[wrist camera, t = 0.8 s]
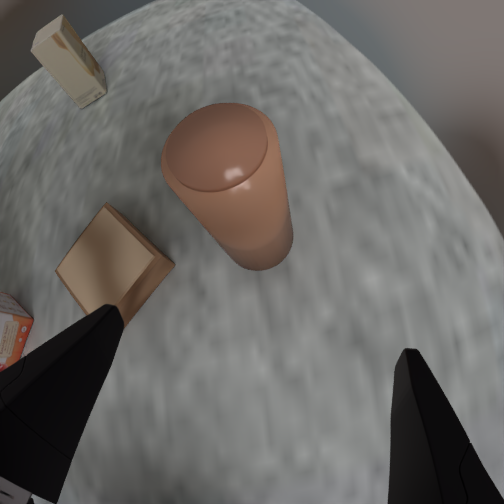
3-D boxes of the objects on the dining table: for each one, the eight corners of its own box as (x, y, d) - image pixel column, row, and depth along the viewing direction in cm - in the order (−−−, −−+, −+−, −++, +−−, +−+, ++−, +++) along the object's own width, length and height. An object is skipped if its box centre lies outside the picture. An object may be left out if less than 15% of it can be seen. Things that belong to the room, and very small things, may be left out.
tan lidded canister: (263, 284, 25) (217, 222, 12) (211, 243, 26) (135, 159, 14) (307, 230, 25) (302, 126, 13) (254, 193, 27) (212, 83, 15)
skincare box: (108, 93, 35) (60, 29, 23) (81, 111, 35) (29, 52, 23) (104, 70, 37) (63, 12, 25) (79, 85, 37) (35, 31, 26)
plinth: (118, 335, 25) (98, 333, 23) (72, 277, 28) (52, 270, 25) (175, 264, 26) (160, 254, 24) (121, 213, 29) (104, 200, 26)
